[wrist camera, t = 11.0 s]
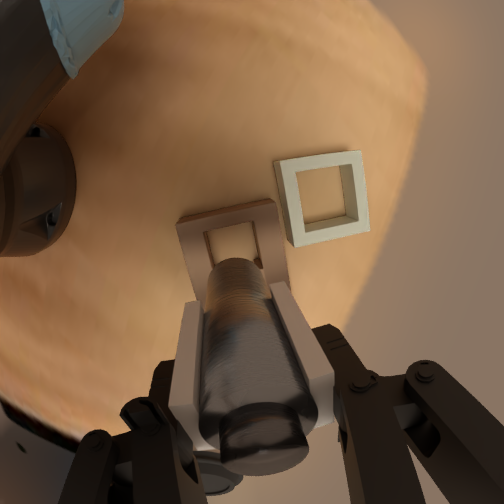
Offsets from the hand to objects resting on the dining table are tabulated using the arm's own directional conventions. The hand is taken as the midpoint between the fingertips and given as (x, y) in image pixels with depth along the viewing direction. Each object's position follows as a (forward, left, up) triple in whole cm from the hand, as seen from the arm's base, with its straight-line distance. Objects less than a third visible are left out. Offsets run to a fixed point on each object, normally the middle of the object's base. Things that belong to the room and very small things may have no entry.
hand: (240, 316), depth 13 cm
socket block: (+3, 0, -15) cm, 15 cm away
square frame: (-3, +10, -15) cm, 18 cm away
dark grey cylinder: (0, 0, -4) cm, 4 cm away
